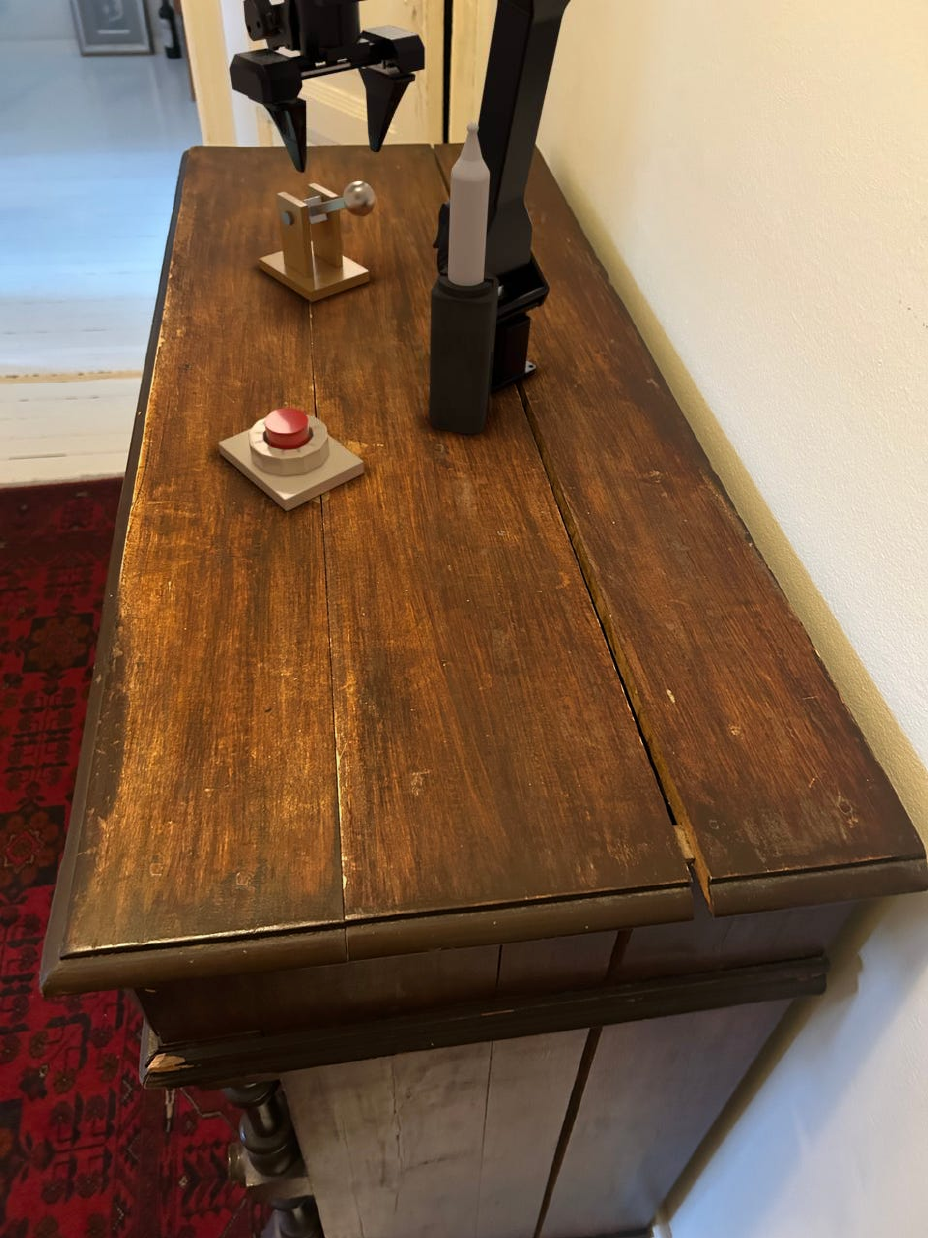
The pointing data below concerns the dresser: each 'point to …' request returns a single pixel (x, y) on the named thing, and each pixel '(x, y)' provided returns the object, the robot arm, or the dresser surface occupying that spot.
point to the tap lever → (344, 202)
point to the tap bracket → (311, 250)
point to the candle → (464, 304)
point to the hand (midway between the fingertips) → (338, 161)
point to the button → (287, 429)
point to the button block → (292, 463)
